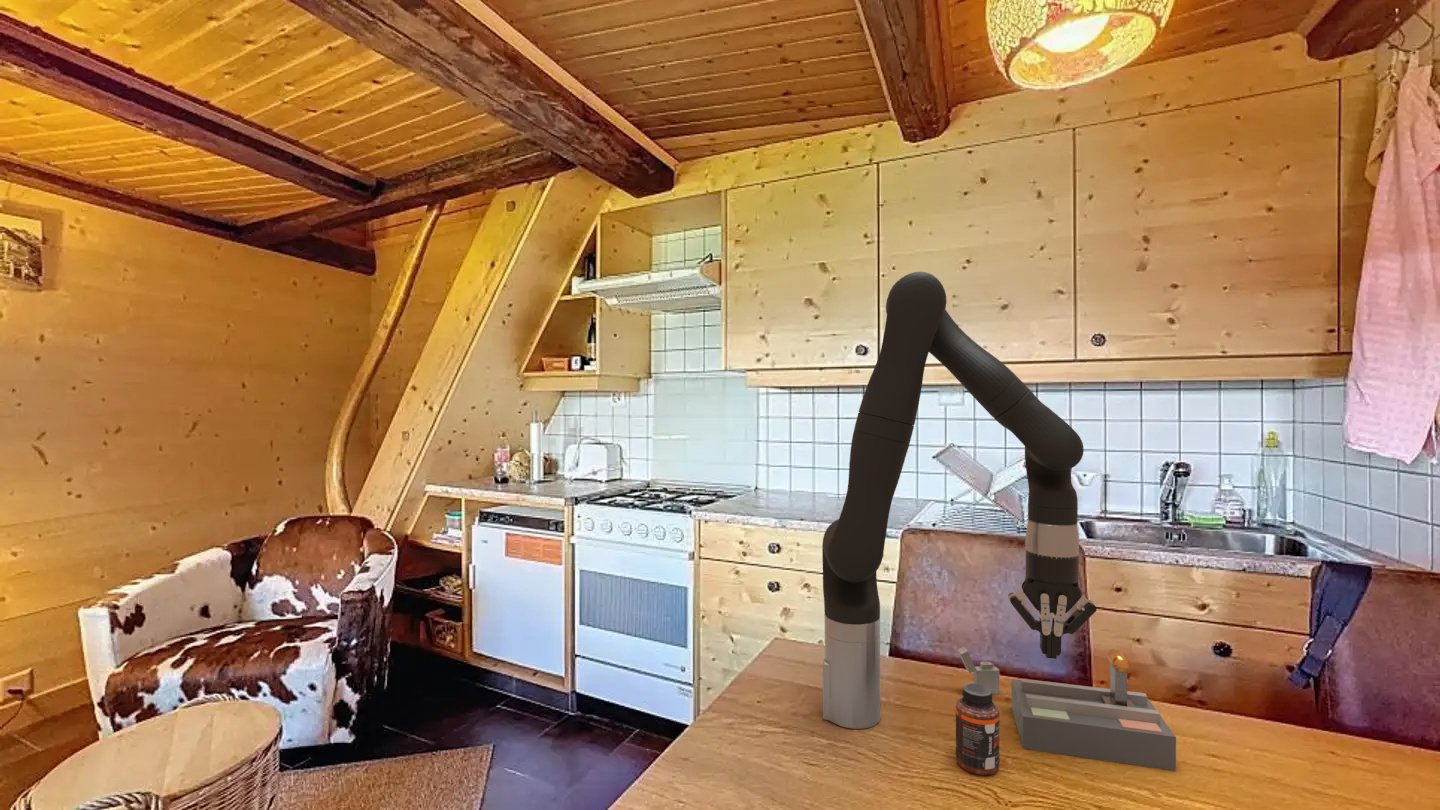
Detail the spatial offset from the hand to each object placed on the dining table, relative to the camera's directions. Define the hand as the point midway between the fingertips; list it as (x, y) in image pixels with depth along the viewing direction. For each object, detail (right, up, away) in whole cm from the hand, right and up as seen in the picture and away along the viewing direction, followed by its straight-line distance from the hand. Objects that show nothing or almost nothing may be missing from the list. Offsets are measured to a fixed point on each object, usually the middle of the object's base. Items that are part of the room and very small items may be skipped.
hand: (1050, 656), depth 101 cm
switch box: (+5, -12, -1) cm, 13 cm away
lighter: (-6, -12, +14) cm, 19 cm away
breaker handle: (+9, -7, -3) cm, 12 cm away
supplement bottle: (-15, -13, -8) cm, 21 cm away
